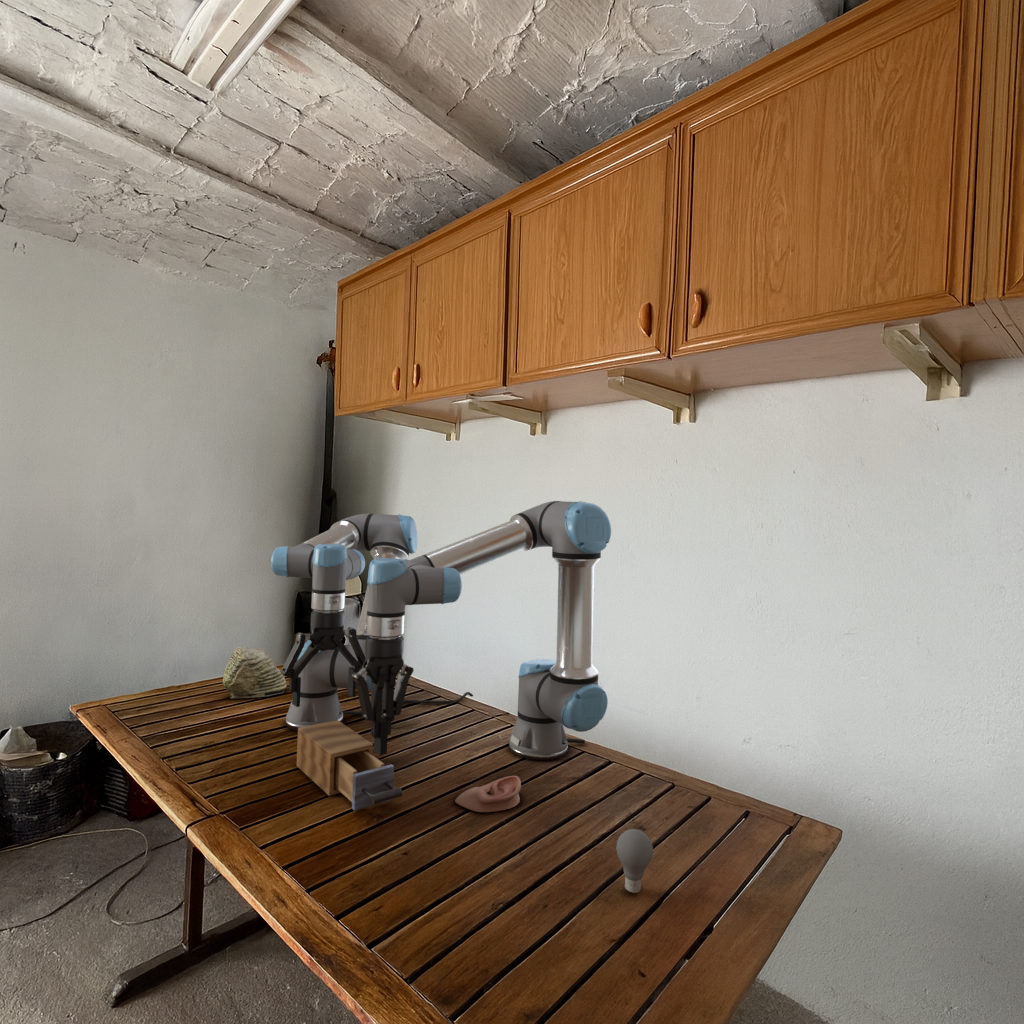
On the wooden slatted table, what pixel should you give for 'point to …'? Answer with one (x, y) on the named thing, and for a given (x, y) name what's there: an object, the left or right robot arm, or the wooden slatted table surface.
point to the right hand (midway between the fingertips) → (380, 752)
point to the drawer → (364, 779)
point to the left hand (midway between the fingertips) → (324, 700)
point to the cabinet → (326, 751)
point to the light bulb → (634, 857)
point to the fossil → (252, 674)
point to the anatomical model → (492, 795)
